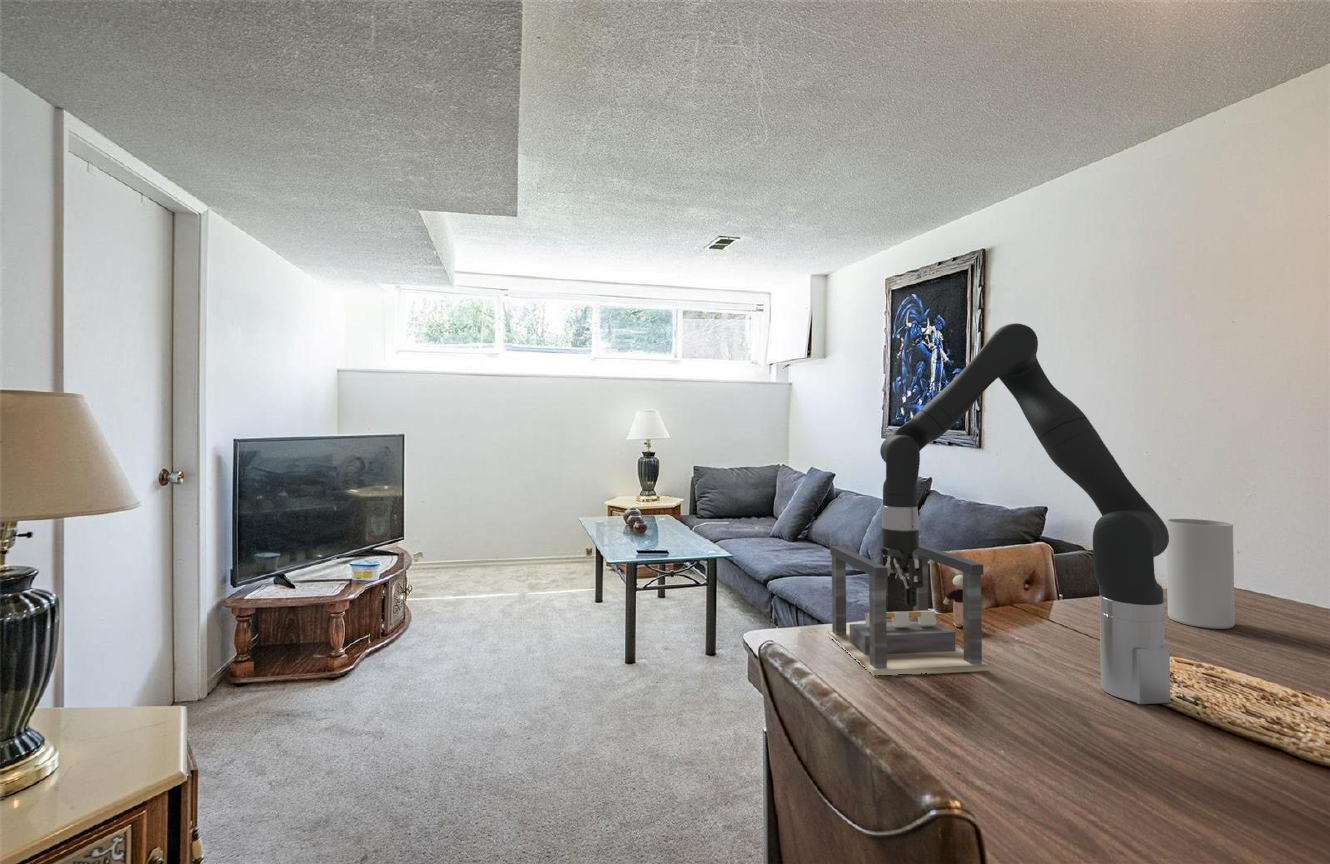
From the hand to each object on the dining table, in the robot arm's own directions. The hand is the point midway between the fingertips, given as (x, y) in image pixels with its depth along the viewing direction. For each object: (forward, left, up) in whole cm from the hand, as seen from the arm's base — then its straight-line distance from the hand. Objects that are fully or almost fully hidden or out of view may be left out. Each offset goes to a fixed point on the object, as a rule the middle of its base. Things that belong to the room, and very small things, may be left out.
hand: (900, 600), depth 131 cm
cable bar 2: (0, -10, +8) cm, 13 cm away
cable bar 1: (0, +10, +8) cm, 13 cm away
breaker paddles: (0, 0, -6) cm, 6 cm away
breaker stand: (0, 0, -11) cm, 11 cm away
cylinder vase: (+11, -84, -11) cm, 85 cm away
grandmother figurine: (+15, -23, -11) cm, 30 cm away
